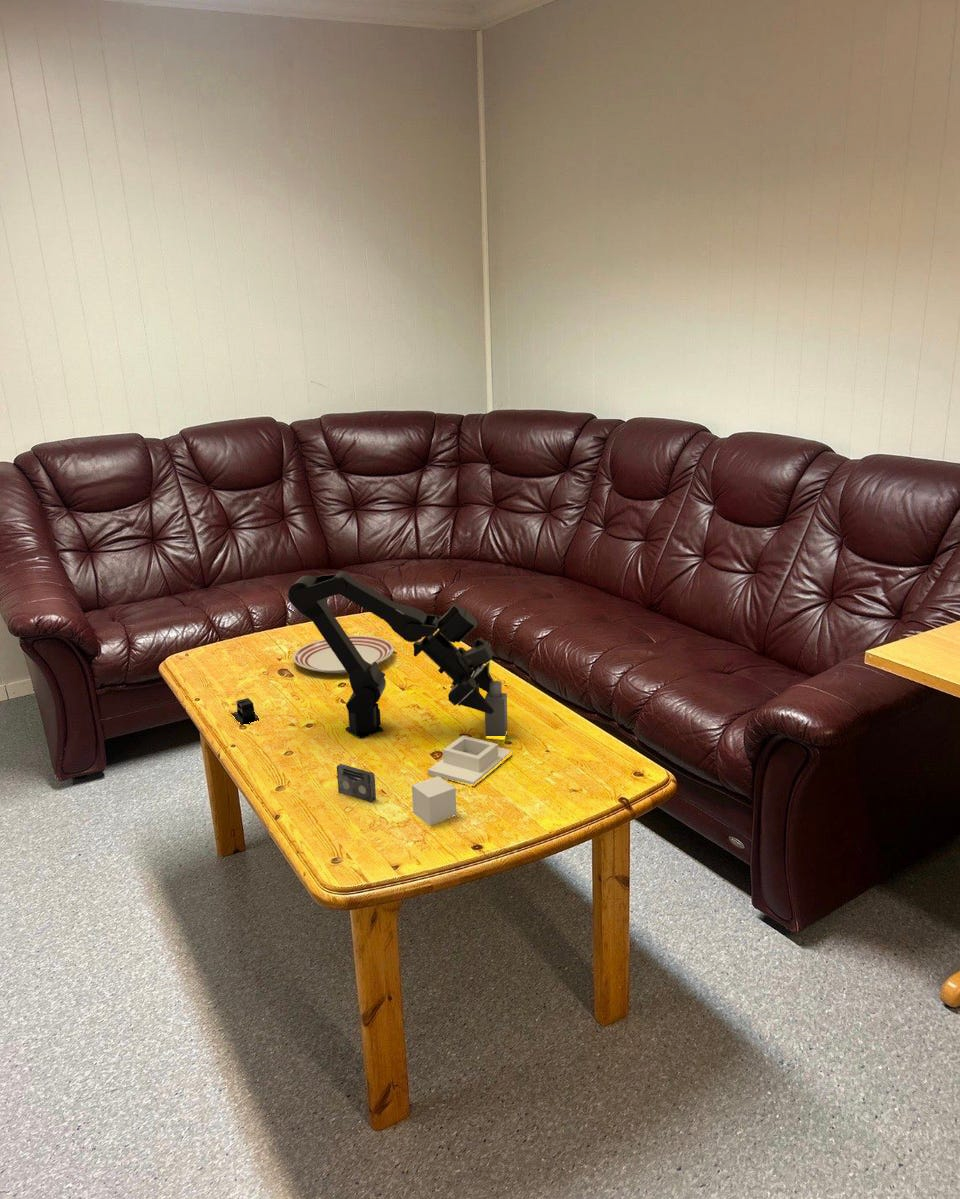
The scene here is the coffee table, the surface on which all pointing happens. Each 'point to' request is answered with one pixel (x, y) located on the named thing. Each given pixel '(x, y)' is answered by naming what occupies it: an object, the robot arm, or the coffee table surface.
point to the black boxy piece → (245, 712)
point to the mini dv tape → (356, 783)
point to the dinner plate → (325, 660)
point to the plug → (496, 711)
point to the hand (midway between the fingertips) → (496, 704)
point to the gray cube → (434, 800)
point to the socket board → (468, 760)
